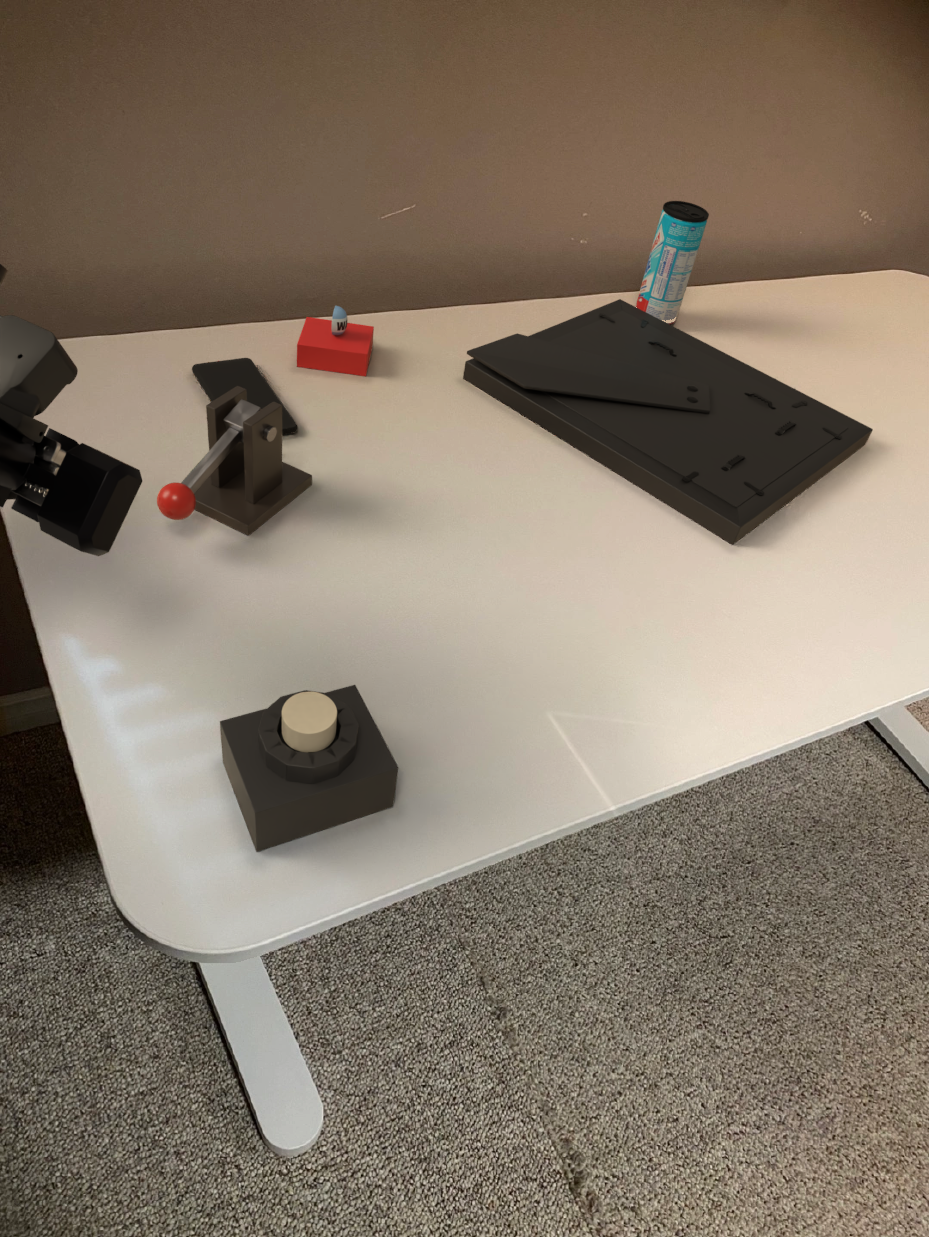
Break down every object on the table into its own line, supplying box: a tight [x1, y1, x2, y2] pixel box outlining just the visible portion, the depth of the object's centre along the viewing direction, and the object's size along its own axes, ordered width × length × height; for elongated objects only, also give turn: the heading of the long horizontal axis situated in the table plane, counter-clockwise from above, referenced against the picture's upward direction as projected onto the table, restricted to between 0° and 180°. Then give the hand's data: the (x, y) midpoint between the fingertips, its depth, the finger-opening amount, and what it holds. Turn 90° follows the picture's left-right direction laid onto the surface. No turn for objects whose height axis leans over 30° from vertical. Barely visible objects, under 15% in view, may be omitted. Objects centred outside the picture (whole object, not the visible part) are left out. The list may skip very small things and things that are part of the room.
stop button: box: [282, 691, 337, 753], centre depth 62 cm, size 4×4×2 cm
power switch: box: [156, 399, 261, 521], centre depth 82 cm, size 13×3×3 cm, turn 151°
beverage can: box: [635, 200, 710, 326], centre depth 124 cm, size 6×6×15 cm
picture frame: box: [462, 298, 874, 545], centre depth 110 cm, size 31×4×38 cm
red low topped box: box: [296, 305, 375, 377], centre depth 108 cm, size 8×7×6 cm
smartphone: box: [191, 357, 299, 436], centre depth 100 cm, size 7×1×15 cm
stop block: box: [219, 684, 399, 853], centre depth 65 cm, size 10×8×6 cm
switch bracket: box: [194, 386, 313, 536], centre depth 86 cm, size 10×8×10 cm
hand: (86, 488), depth 69 cm, fingers closed
